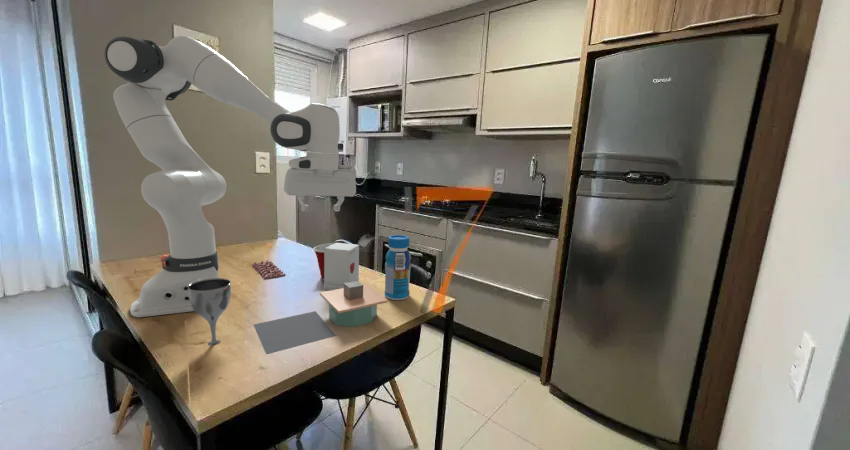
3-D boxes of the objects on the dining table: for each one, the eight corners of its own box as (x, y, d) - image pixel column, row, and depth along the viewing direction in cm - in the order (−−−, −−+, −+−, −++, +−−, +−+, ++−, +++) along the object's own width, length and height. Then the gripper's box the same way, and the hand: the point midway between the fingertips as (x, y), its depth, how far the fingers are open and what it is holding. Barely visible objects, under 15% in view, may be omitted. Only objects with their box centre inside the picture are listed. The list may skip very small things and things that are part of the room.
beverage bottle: (379, 297, 111) (380, 237, 107) (392, 289, 118) (394, 233, 114) (401, 303, 107) (404, 241, 103) (414, 294, 115) (416, 236, 111)
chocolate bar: (265, 281, 122) (264, 275, 121) (252, 267, 136) (252, 262, 136) (285, 277, 126) (285, 272, 126) (271, 264, 141) (271, 259, 140)
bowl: (341, 332, 87) (341, 311, 86) (324, 314, 97) (324, 294, 95) (382, 322, 94) (383, 301, 93) (363, 306, 103) (363, 287, 102)
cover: (338, 313, 84) (338, 297, 84) (319, 294, 96) (319, 280, 95) (387, 302, 93) (388, 287, 92) (365, 285, 104) (365, 273, 103)
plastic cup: (311, 274, 130) (311, 243, 128) (340, 271, 134) (340, 241, 132) (315, 283, 120) (315, 250, 118) (346, 280, 125) (346, 248, 123)
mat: (266, 357, 75) (266, 354, 75) (253, 327, 88) (253, 324, 88) (336, 338, 84) (336, 335, 84) (315, 313, 97) (315, 311, 97)
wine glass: (205, 337, 82) (201, 277, 79) (240, 337, 83) (236, 278, 80) (185, 355, 74) (179, 290, 72) (223, 355, 75) (219, 290, 72)
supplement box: (348, 294, 112) (349, 250, 109) (323, 291, 113) (323, 248, 111) (359, 285, 121) (359, 244, 118) (335, 282, 122) (335, 242, 120)
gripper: (352, 165, 106) (350, 209, 109) (282, 160, 94) (282, 209, 97) (360, 166, 101) (358, 212, 103) (288, 161, 89) (287, 213, 92)
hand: (321, 211), depth 100 cm, fingers open, 8 cm apart
